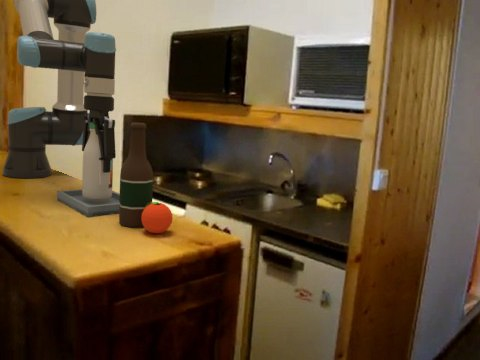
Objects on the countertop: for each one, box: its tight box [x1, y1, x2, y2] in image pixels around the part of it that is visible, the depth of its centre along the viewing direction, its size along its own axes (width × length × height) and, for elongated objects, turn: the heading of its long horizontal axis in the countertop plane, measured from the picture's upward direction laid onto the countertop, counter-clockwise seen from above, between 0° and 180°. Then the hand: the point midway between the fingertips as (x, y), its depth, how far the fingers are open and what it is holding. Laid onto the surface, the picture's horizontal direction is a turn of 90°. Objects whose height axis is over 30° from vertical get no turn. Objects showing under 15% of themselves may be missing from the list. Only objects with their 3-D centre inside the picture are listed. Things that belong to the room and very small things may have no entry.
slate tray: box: [56, 189, 120, 218], centre depth 122 cm, size 20×14×2 cm
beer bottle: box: [118, 122, 154, 229], centre depth 105 cm, size 8×8×24 cm
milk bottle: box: [81, 122, 114, 199], centre depth 120 cm, size 8×8×20 cm
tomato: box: [141, 201, 173, 234], centre depth 101 cm, size 8×7×7 cm
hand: (97, 181), depth 121 cm, fingers closed on milk bottle, 8 cm apart
